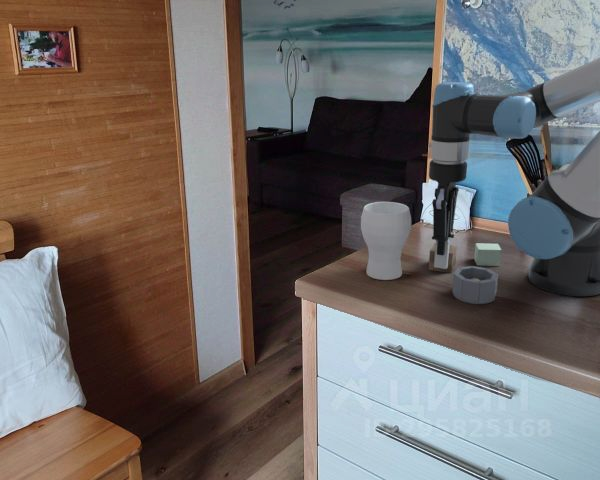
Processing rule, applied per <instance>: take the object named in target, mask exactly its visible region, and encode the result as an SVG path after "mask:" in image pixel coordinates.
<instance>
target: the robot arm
mask: <svg viewBox="0 0 600 480" xmlns="http://www.w3.org/2000/svg"><path fill="white" fill-rule="evenodd" d="M599 102H600V57H598V58H596V59H594V60H592V61H588V62H587V63H584V64H582V65H581V66H578V67H576V68H573V69H570V70H569V71H566V72H564V73H561V74H560V75H558V76H556V77H555V76H554V78H551V79H548V80H547V81H545V82H542V83H540V84H537V85H535V86H532V87H531V88H529V89H526V90H524V91H520V92H519V91H518V92H514V93H509V94H502V95H490V94H488V95H487V94H477V93H475V91H474V85H473V84H472V83H471V82H466V81H465V82H463V81H462V82H461V81H448V82H446V81H445V82H440V83H438V84H437V85H436V86H435V88H434V93H433V102H432V104H431V105H432V121H431V122H432V123H431V124H432V125H431V126H432V127H431V137H430V138H431V139H430V142H429V143H428V146H427V147H428V148H430V154H429V155H430V159H431V160H430V161H429V167H428V168H429V169H428V177H429V179H430V180H432V181H435V182H437V187H436V188H435V189H434V199H432V202H431V203H432V210H433V211H432V212H433V213H432V216H433V219H432V221H433V222H432V223H433V224H432V226H433V228H432V229H433V230H432V232H433V235H432V237H431V240H435V243H436V244H435V259H434V267H437V268H443V269H447V267H448V259H449V246H450V244H451V239H454V238H455V234H454V233H453V231H454V224H455V223H454V222H455V216H456V215H455V214H456V207H457V200H458V194H459V192H460V190H459V187H458V186H457V183H460V182H461V183H462V182H463V181H465V180H466V178H467V174H468V173H467V171H468V170H467V169H468V162H467V160H468V159H469V153H470V152H469V149H470V135H480V136H487V137H494V138H495V137H496V138H503V139H505V140H509V139H520V140H521V139H525V138H527V137H528V136H529V134H530V133H531V132H532V131H533V129H536V128H539V127H541V126H545V125H546V124H547V123H549V122H551V121H554V120H556V119H559V118H561V117H564V116H566V115H568V114H571V113H573V112H576V111H578V110H582V109H584V108H587V107H589V106H593V105H594V104H597V103H599ZM509 212H510V213H509V216H508V219H507V227H508V232H509V236H510V238H511V240H512V242H513V243H514V245H515V246H516V247H517V248H518V250H520V252H523V254H525V255H527V256H529V257H531V258H533V259H532V261H531V263H530V265H529V269H528V276H527V277H528V280H529V281H530V282H531V283H532V284H533V285H534V286H536V287H538V288H540V289H542V290H545V291H548V292H550V293H554V294H559V295H563V296H571V297H593V296H598V295H600V130H599V131H598V132H597V133H596V134H595V135H594V136H593V138H592V139H591V140H590V141H589V142H588V143H587V145H585V147H584V148H583V149H582V150H581V151H580V152H579V153H578V154H577V156H576V157H575V158H574V159H573V160H572V161H571V162H570V163H569V165H568V166H567V167H566V168H565V169H560V170H559V169H557V170H552V171H551V172H550V173H549V174H548V175H547V176H546V177H545V178H544V180H542V182H541V183H540V184H539V185H538V186H537V187H536V188H535V190H534V191H532V193H531V194H530V195H528V197H524V198H522V199H521V200H519V201H518V202H517V203H516V205H514V206H513V207H512V209H511V210H510V211H509Z"/></svg>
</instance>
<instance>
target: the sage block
mask: <svg viewBox="0 0 600 480" xmlns="http://www.w3.org/2000/svg"><path fill="white" fill-rule="evenodd" d="M473 259H474V262H475V265H476V266H477V267H481V266H484V267H501V259H502V248H501V246H500V245H499V243H483V242H482V243H480V242H479V243H478V242H477V243H475V246H474V256H473Z"/></svg>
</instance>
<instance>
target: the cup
mask: <svg viewBox="0 0 600 480" xmlns="http://www.w3.org/2000/svg"><path fill="white" fill-rule="evenodd" d="M360 230H361V233H362V237H363V240H364V242H365V244H366V246H367V249H368V261H367V264H366V265H367V266H366V271H365V272H366V275H367V276H368V277H370V278H372V279H376V280H383V281H390V280H391V281H392V280H396V279H398V278H400V277H402V275H403V271H402V270H403V269H402V262H401V261H402V260H401V256H402V251H403V248H404V246H405V244H406V242H407V241H408V238H409V237H410V233H411V230H412V216H411V211H410V208H409V206H407V205H406V204H404V203H399V202H394V201H375V202H371V203H368V204H366V205H364V207H363V208H362V213H361V216H360Z"/></svg>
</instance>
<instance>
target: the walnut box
mask: <svg viewBox="0 0 600 480" xmlns="http://www.w3.org/2000/svg"><path fill="white" fill-rule="evenodd" d="M435 244H436V242H435V243H434V244H433V245H432V247H431V248H430V250H429V259H428V270H430V271H437V272H444V273H452V272H453V271H454V268H455V267H456V263H457V262H456V261H457V250H458V249H457V248H458V246H457V245H450V246H449V259H448V267H447V269H443V268H437V267H434V259H435Z"/></svg>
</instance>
